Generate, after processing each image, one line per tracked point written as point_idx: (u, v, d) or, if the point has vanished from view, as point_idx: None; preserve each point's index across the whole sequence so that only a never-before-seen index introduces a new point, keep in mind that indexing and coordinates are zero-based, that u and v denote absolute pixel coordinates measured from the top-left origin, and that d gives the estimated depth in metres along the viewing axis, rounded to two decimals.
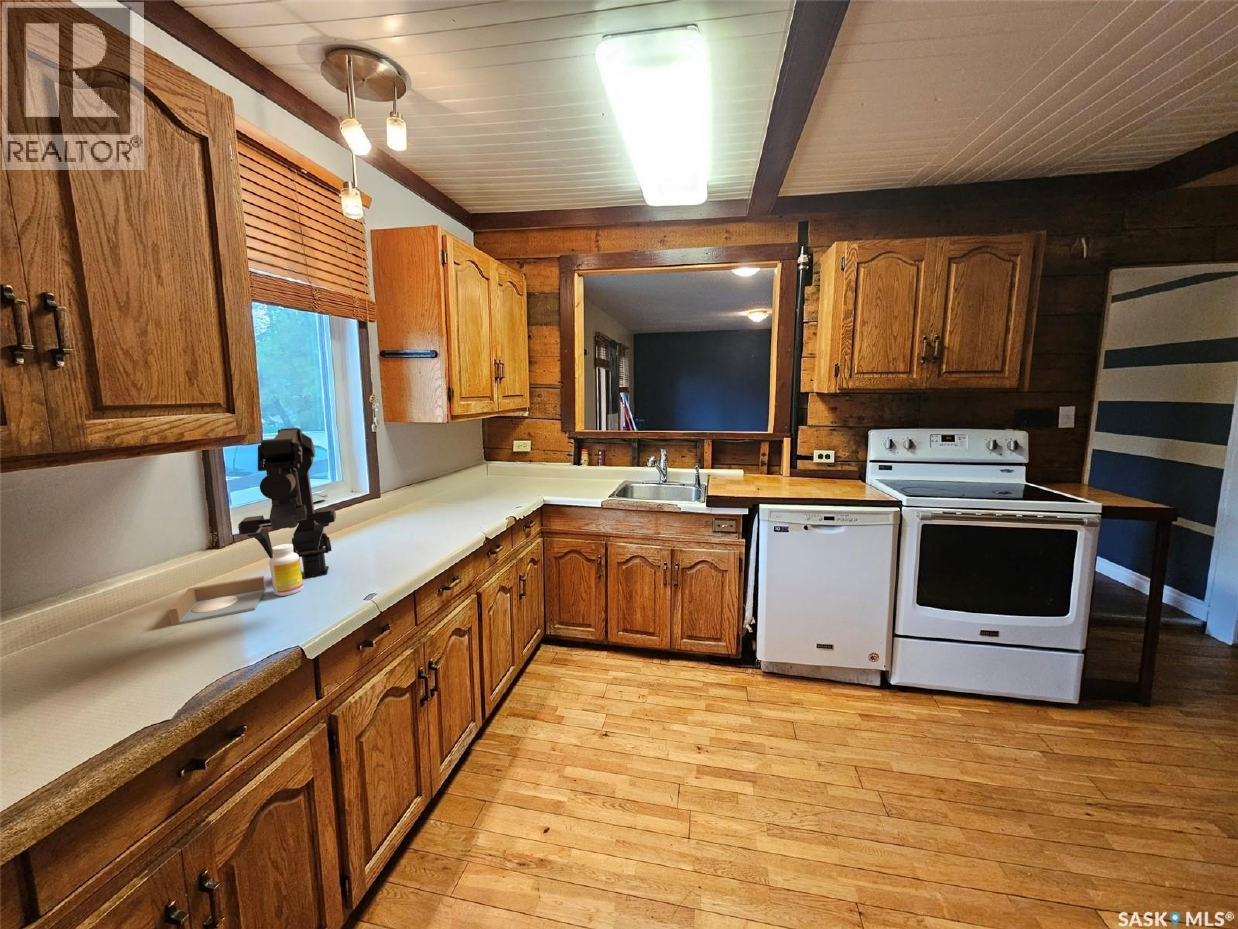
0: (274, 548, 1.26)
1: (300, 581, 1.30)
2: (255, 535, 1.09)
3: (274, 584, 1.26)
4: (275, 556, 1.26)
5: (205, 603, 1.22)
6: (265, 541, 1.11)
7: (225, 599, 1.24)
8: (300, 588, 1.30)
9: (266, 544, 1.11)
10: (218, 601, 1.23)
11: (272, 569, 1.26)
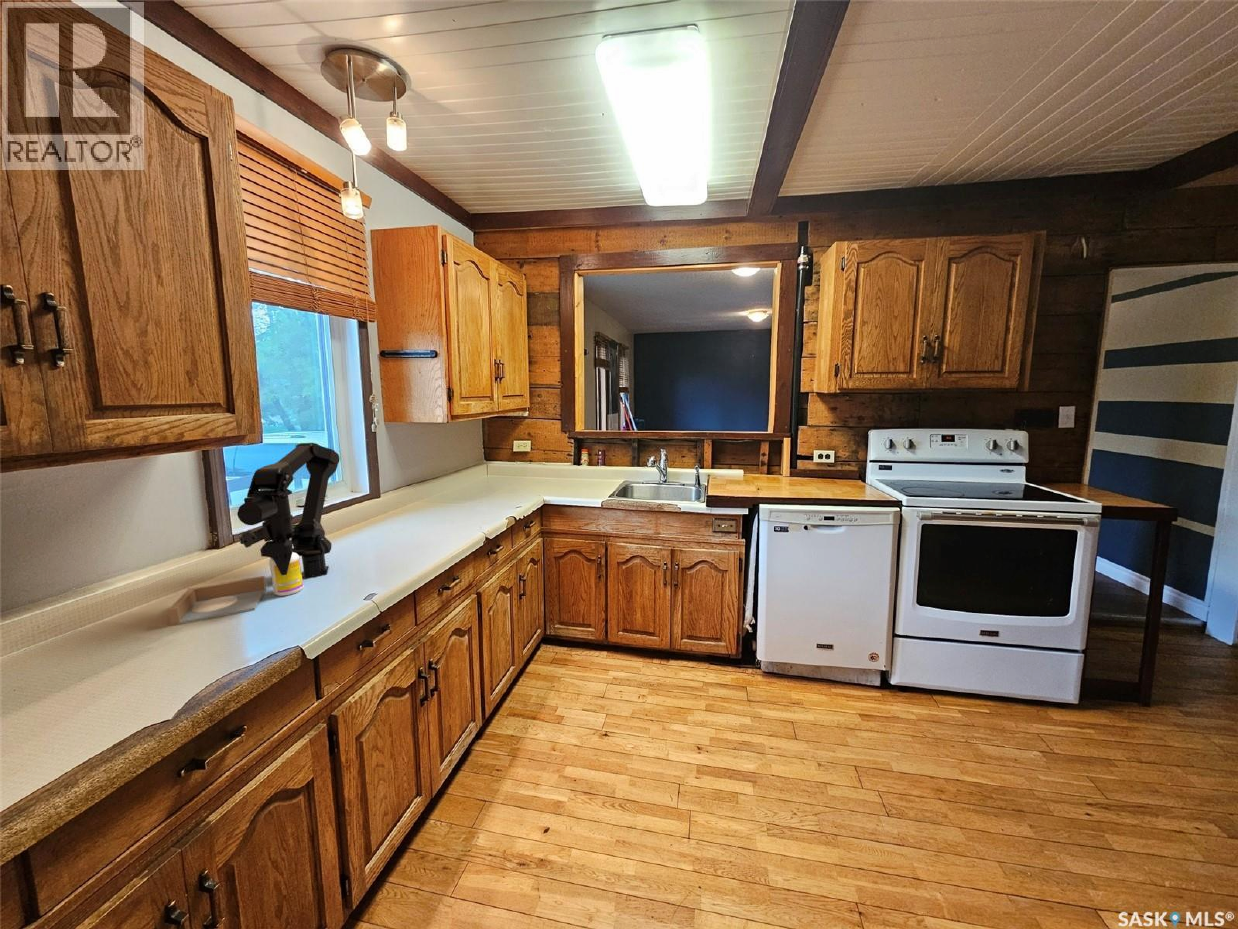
0: None
1: (300, 581, 1.30)
2: None
3: (274, 584, 1.26)
4: None
5: (205, 603, 1.22)
6: None
7: (225, 599, 1.24)
8: (300, 588, 1.30)
9: None
10: (218, 601, 1.23)
11: (272, 569, 1.26)
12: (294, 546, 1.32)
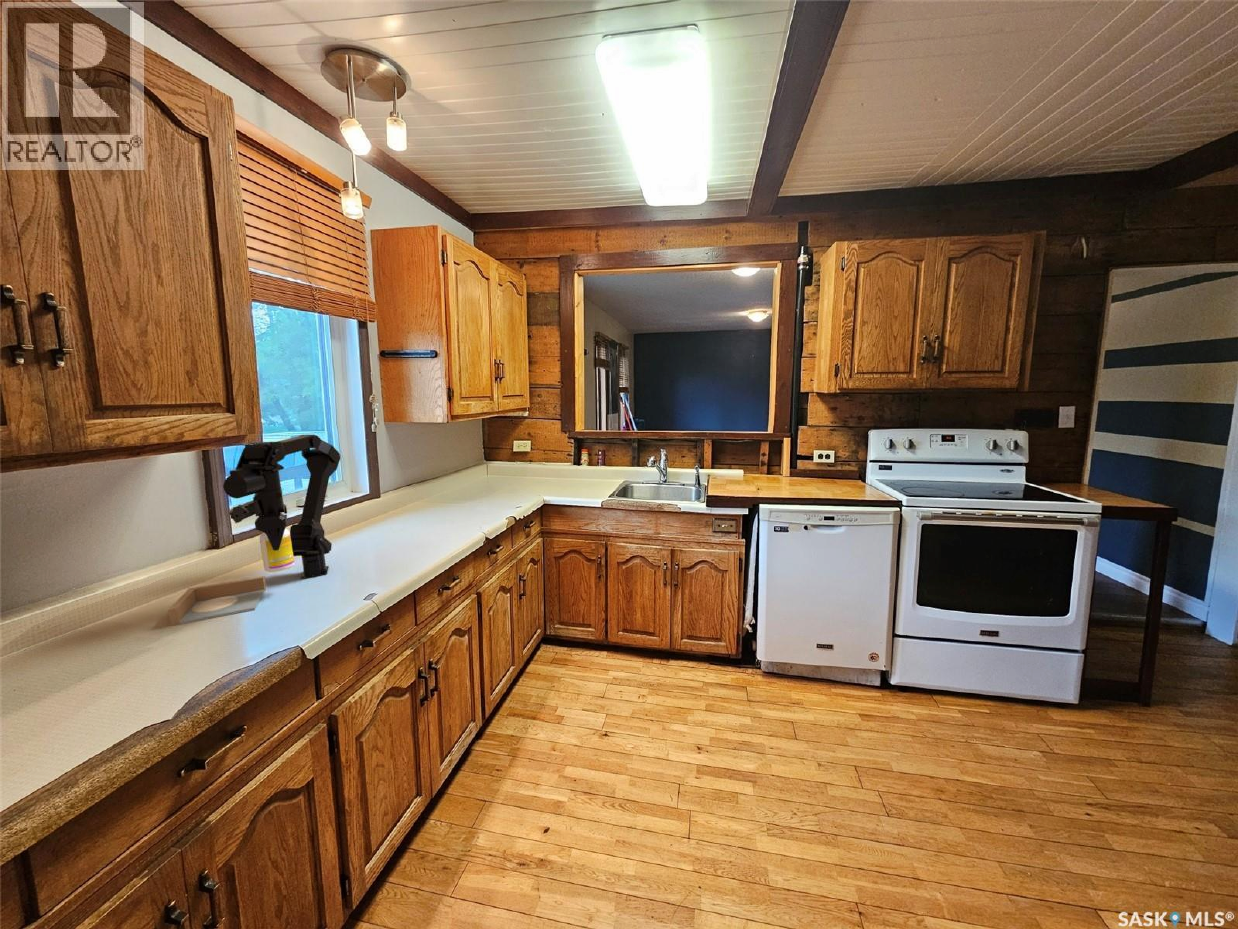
0: None
1: (292, 557, 1.28)
2: None
3: (265, 560, 1.24)
4: None
5: (205, 603, 1.22)
6: None
7: (225, 599, 1.24)
8: (292, 564, 1.28)
9: None
10: (218, 601, 1.23)
11: (263, 545, 1.24)
12: None
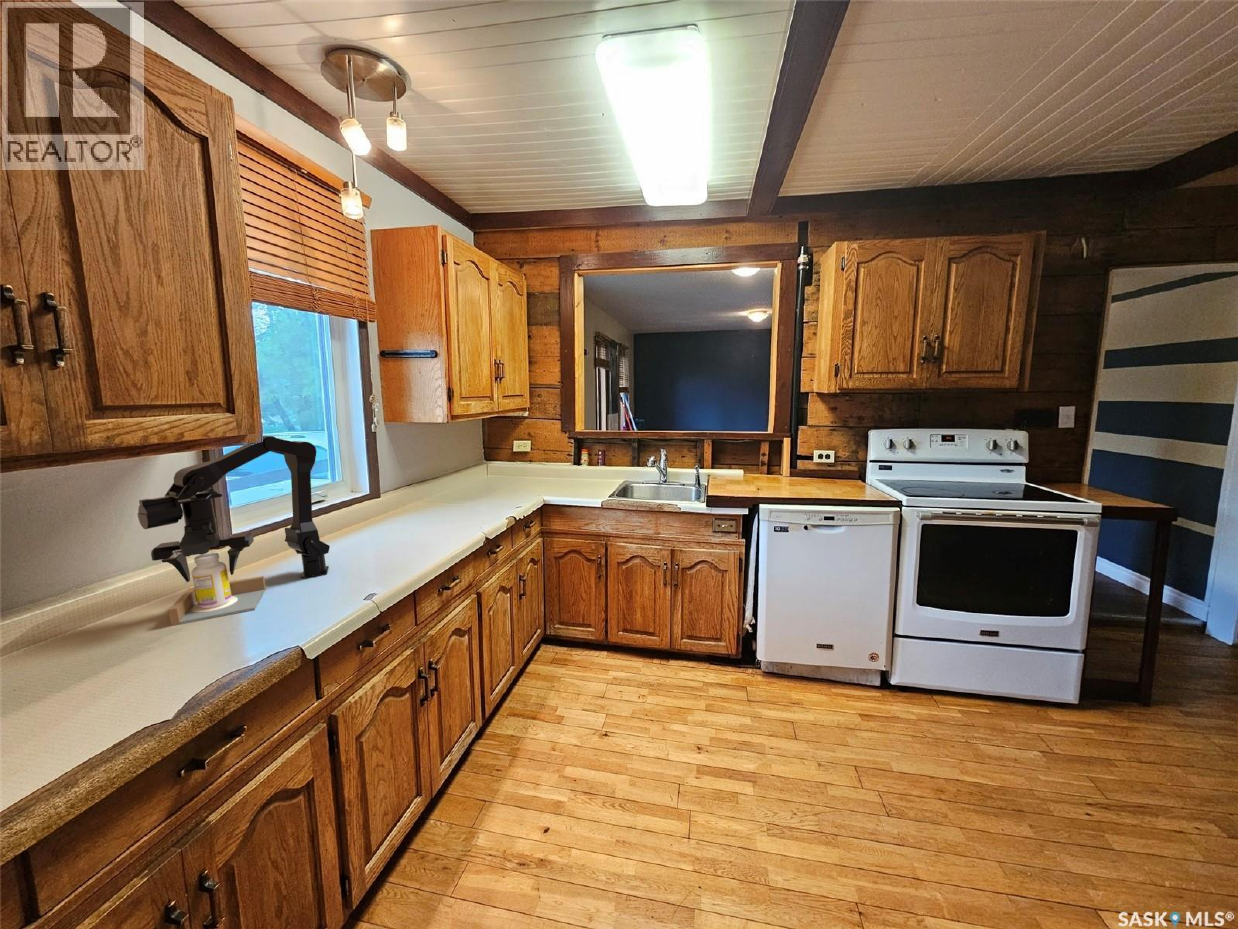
0: (208, 557, 1.18)
1: None
2: (169, 561, 1.14)
3: (219, 593, 1.20)
4: (213, 564, 1.19)
5: None
6: (181, 566, 1.16)
7: None
8: None
9: (182, 569, 1.17)
10: None
11: (217, 577, 1.19)
12: (186, 559, 1.19)
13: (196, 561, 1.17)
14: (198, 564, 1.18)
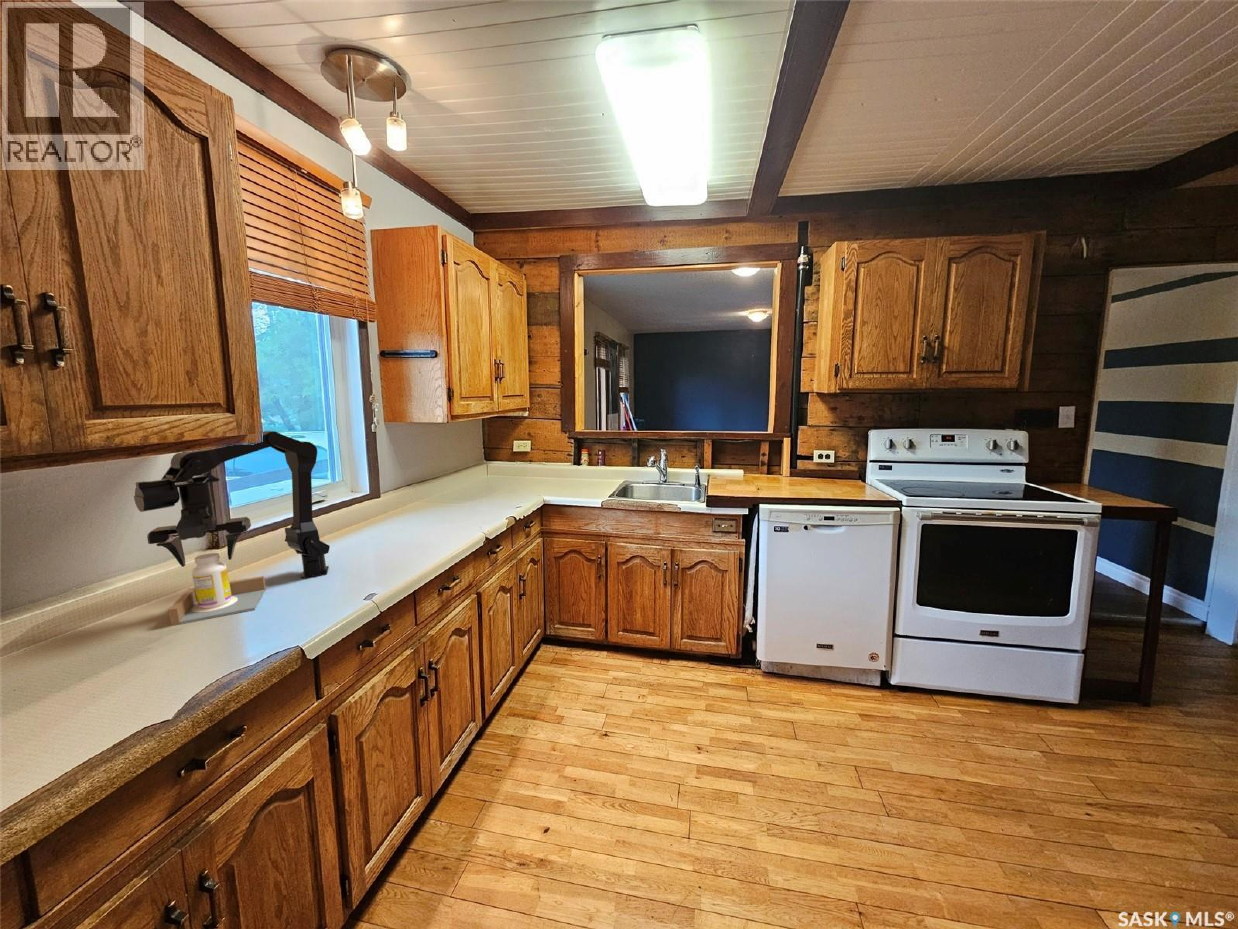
0: (209, 557, 1.18)
1: None
2: (164, 544, 1.13)
3: (220, 593, 1.20)
4: (213, 564, 1.19)
5: None
6: (176, 550, 1.16)
7: None
8: None
9: (177, 553, 1.16)
10: None
11: (217, 577, 1.19)
12: (181, 543, 1.18)
13: (196, 561, 1.17)
14: (198, 564, 1.18)
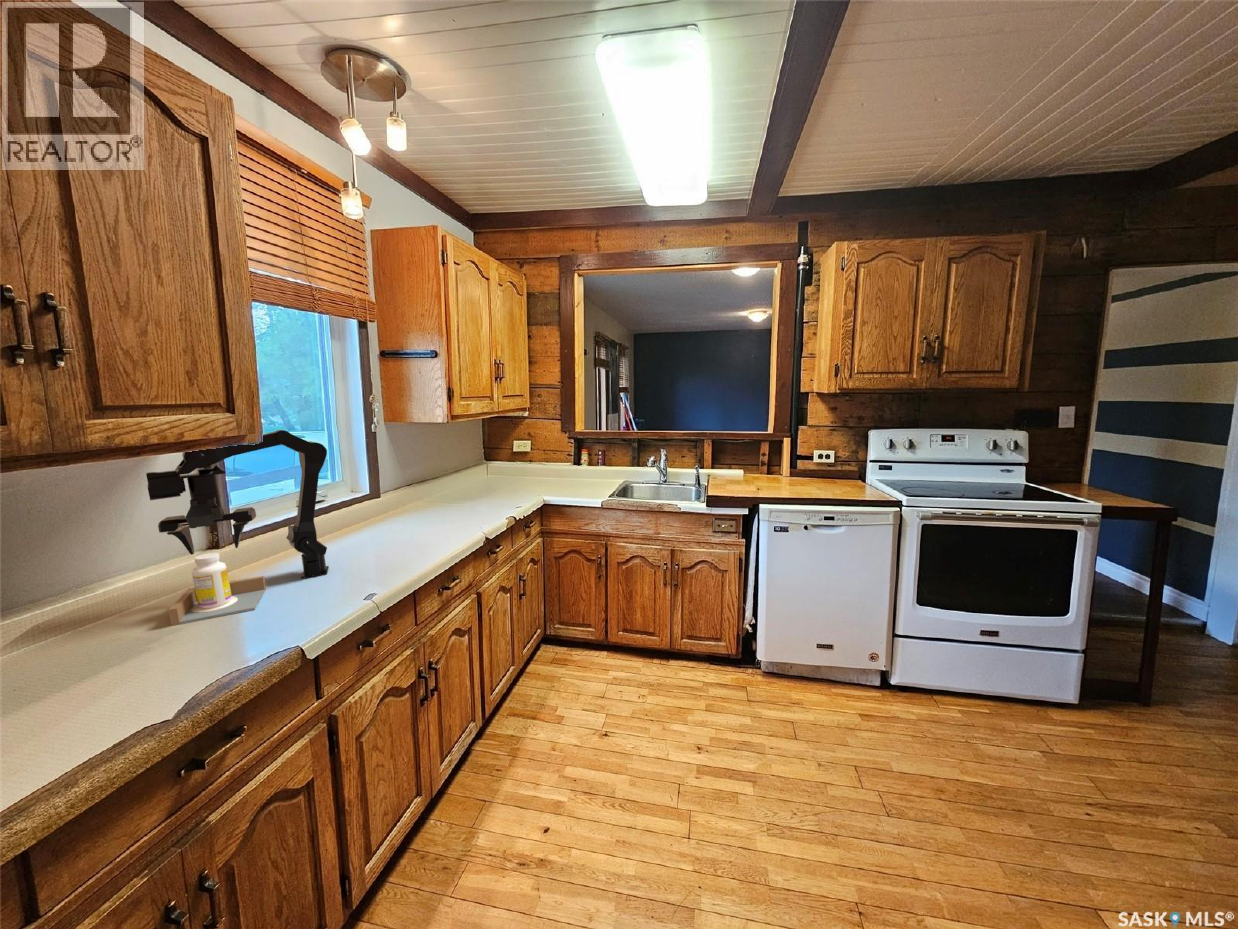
0: (209, 557, 1.18)
1: None
2: (174, 533, 1.19)
3: (220, 593, 1.20)
4: (213, 564, 1.19)
5: None
6: (185, 539, 1.21)
7: None
8: None
9: (186, 541, 1.22)
10: None
11: (217, 577, 1.19)
12: (189, 532, 1.24)
13: (196, 561, 1.17)
14: (198, 564, 1.18)
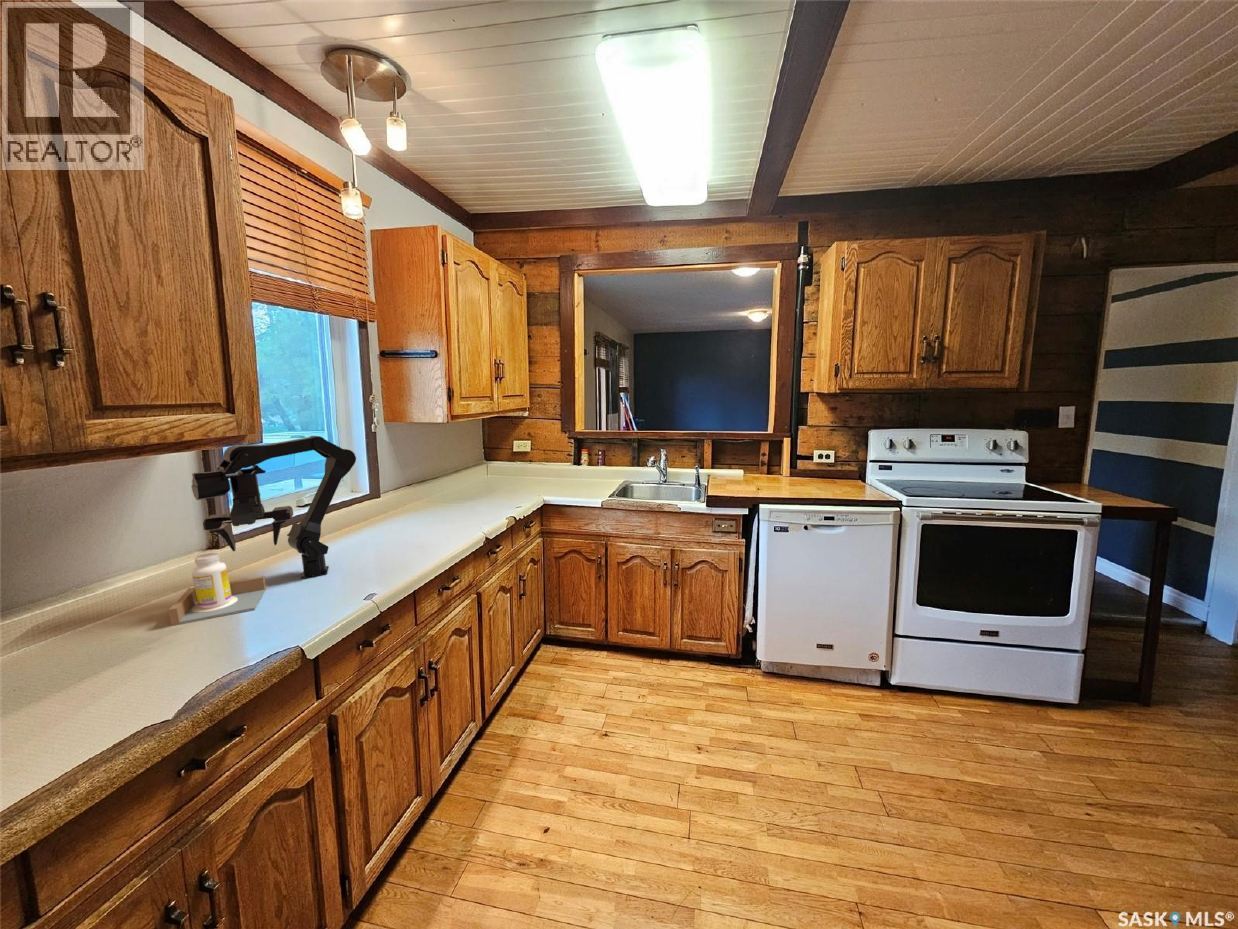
0: (209, 557, 1.18)
1: None
2: (218, 531, 1.24)
3: (220, 593, 1.20)
4: (213, 564, 1.19)
5: None
6: (228, 536, 1.26)
7: None
8: None
9: (229, 539, 1.26)
10: None
11: (217, 577, 1.19)
12: (231, 530, 1.29)
13: (196, 561, 1.17)
14: (198, 564, 1.18)
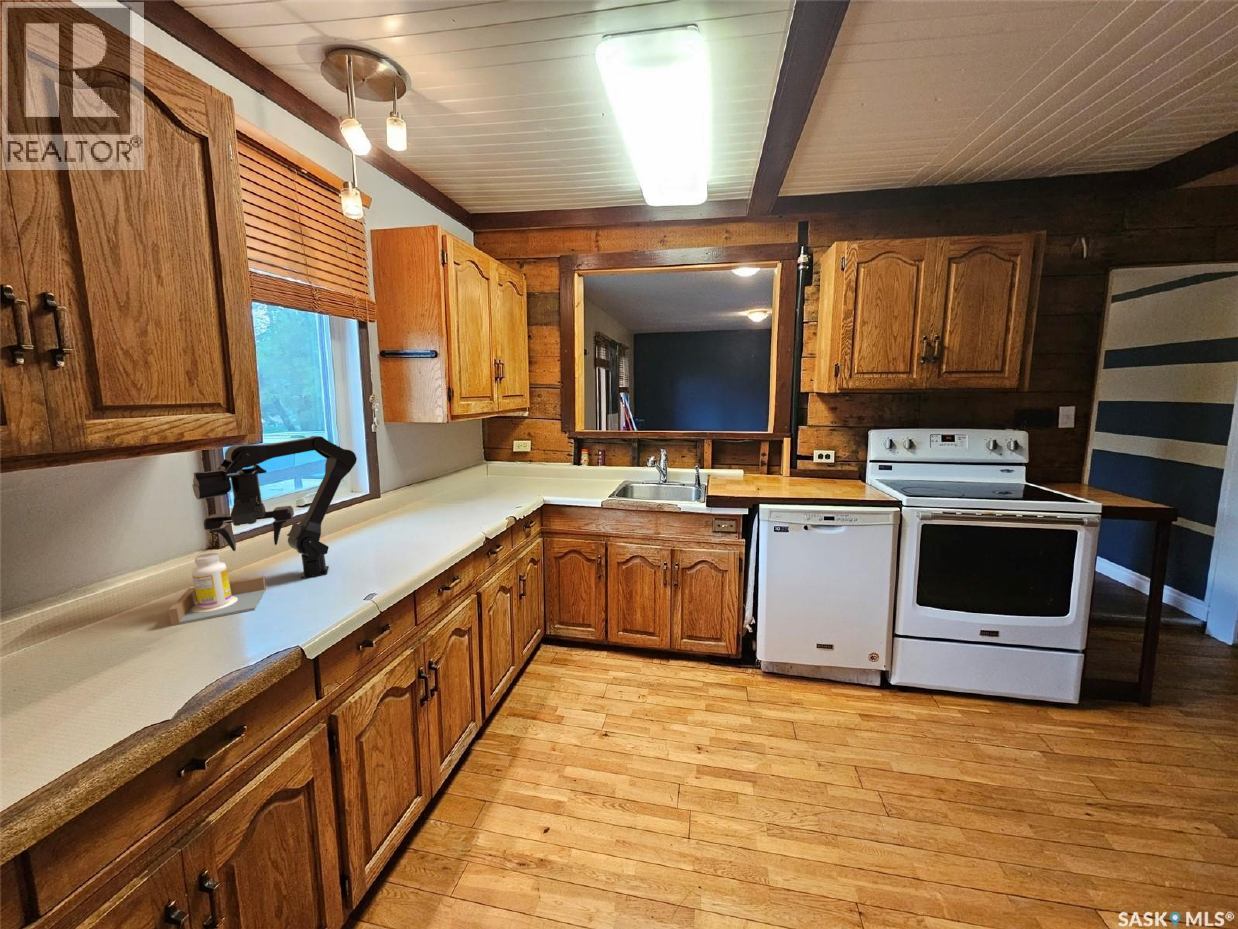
0: (209, 557, 1.18)
1: None
2: (219, 530, 1.24)
3: (220, 593, 1.20)
4: (213, 564, 1.19)
5: None
6: (228, 536, 1.26)
7: None
8: None
9: (229, 538, 1.26)
10: None
11: (217, 577, 1.19)
12: (232, 530, 1.29)
13: (196, 561, 1.17)
14: (198, 564, 1.18)
